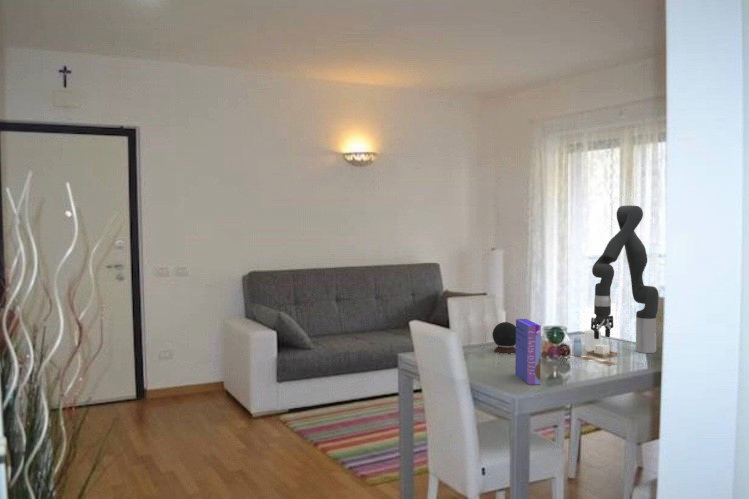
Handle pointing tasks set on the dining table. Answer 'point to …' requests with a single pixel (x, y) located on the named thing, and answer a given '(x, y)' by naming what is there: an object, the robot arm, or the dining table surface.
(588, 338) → the white cup
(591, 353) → the tray
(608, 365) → the board
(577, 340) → the pale blue capsule
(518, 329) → the cereal box
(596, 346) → the die
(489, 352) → the dining table surface
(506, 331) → the black orb on stand
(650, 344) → the robot arm
